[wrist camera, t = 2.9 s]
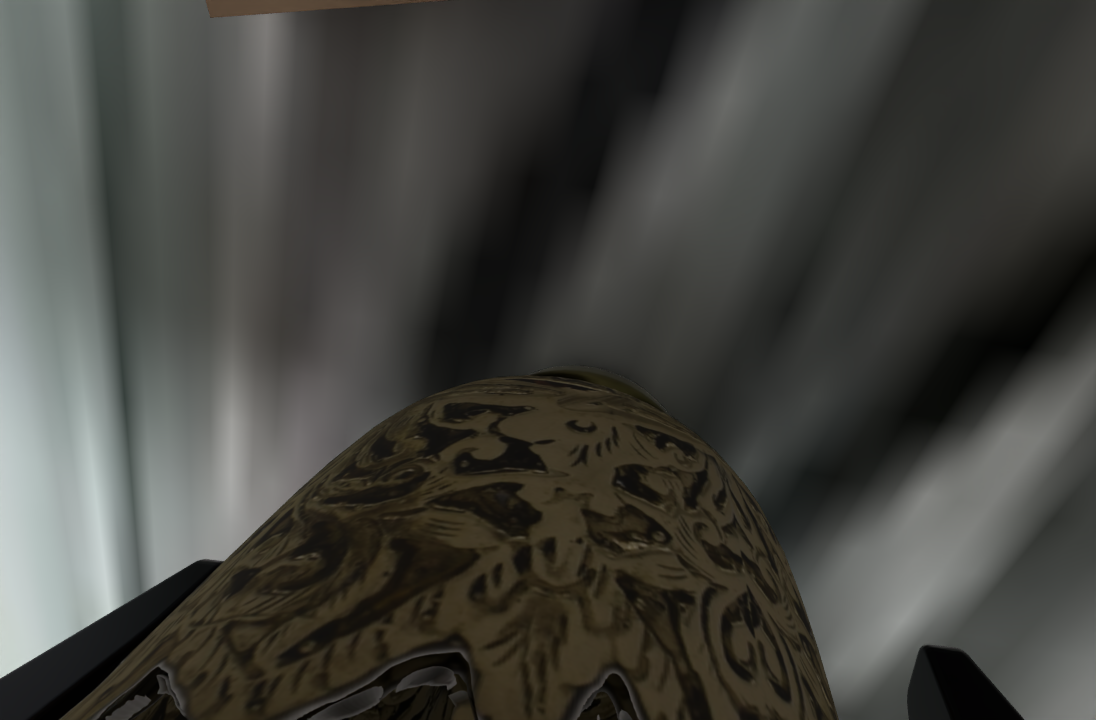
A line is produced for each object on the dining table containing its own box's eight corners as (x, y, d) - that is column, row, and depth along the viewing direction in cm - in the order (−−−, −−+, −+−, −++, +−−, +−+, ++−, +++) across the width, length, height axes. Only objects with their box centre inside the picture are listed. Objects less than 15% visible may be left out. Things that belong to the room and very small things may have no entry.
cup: (609, 642, 15) (514, 1226, 8) (319, 435, 14) (-81, 917, 7) (914, 444, 11) (1223, 1233, 4) (549, 131, 10) (163, 536, 3)
